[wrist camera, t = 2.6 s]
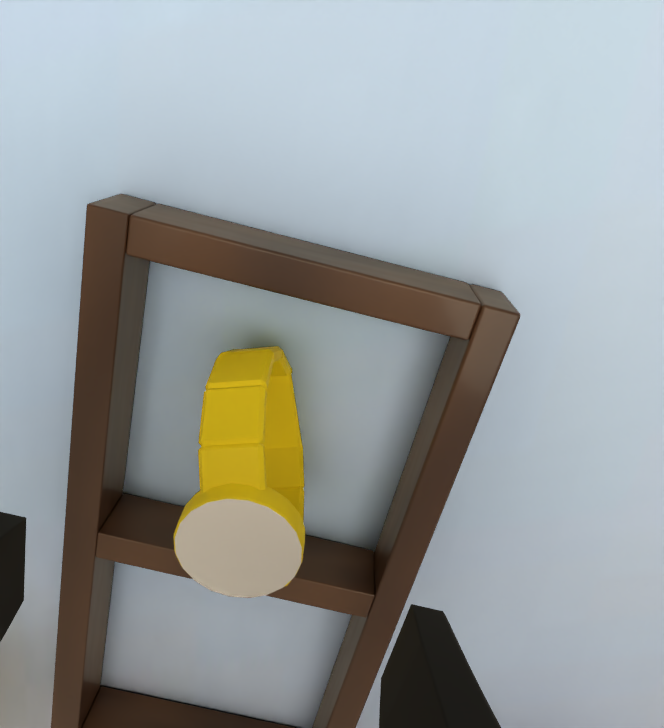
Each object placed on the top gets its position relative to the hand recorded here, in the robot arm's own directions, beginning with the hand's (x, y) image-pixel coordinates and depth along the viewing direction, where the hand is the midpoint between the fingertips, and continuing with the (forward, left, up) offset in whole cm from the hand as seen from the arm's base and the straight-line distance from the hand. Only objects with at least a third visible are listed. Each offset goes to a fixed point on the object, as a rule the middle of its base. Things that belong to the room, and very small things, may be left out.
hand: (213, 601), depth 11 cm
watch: (0, 0, -8) cm, 8 cm away
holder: (0, +5, -7) cm, 9 cm away
